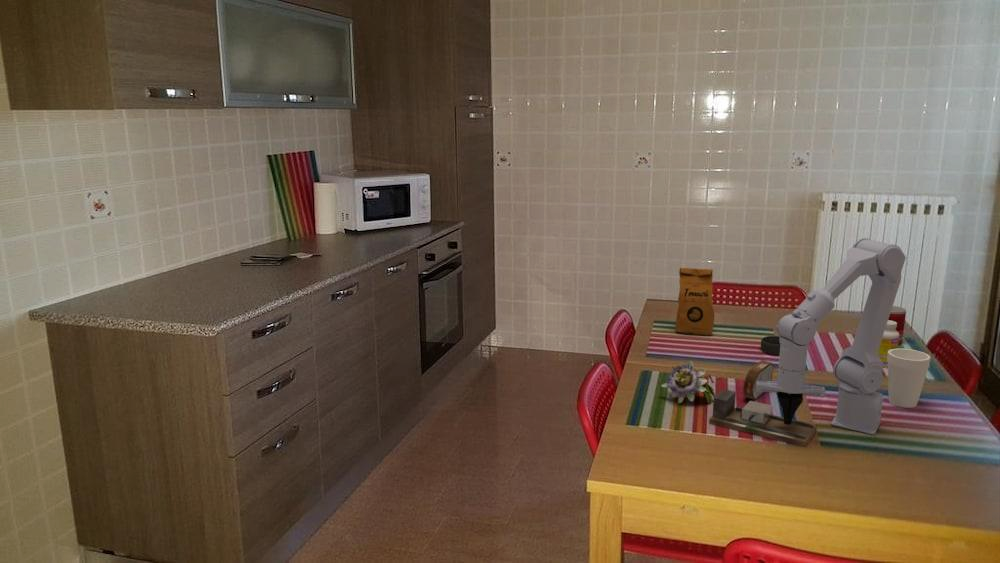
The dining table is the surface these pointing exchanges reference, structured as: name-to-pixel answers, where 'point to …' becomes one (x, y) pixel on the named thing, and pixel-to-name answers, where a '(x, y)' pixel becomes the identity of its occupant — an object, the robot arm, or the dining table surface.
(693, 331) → the coffee package
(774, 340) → the smart speaker
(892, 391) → the foam cup
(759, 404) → the block
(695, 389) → the passion flower
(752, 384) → the tin
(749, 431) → the base
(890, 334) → the supplement bottle
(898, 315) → the canned food
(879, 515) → the dining table surface
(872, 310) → the robot arm
